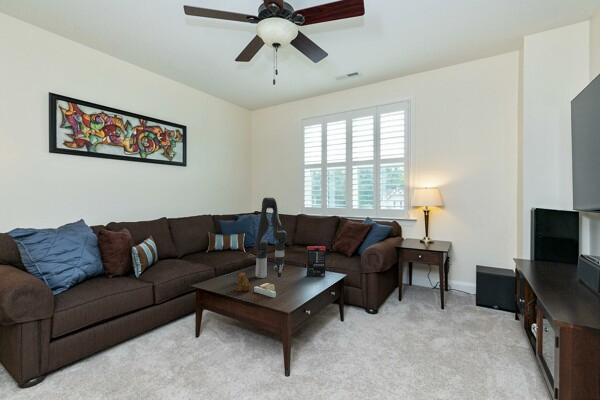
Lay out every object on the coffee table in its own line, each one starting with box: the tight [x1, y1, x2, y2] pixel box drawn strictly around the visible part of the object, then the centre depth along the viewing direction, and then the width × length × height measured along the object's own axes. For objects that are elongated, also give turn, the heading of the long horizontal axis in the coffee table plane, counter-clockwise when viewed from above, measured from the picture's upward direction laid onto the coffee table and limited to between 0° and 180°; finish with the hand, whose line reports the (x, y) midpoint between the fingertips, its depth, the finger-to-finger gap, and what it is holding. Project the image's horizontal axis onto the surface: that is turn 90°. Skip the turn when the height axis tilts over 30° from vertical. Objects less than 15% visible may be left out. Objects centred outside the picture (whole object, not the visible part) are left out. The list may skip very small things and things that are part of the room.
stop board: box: [253, 285, 277, 298], centre depth 210 cm, size 20×2×4 cm, turn 53°
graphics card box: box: [305, 245, 327, 278], centre depth 255 cm, size 17×7×27 cm, turn 96°
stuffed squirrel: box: [234, 272, 252, 292], centre depth 218 cm, size 10×14×13 cm
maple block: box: [259, 282, 276, 292], centre depth 215 cm, size 8×8×5 cm
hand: (279, 276), depth 223 cm, fingers closed
